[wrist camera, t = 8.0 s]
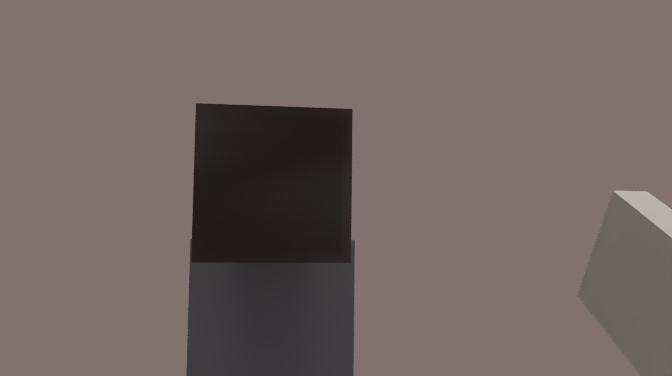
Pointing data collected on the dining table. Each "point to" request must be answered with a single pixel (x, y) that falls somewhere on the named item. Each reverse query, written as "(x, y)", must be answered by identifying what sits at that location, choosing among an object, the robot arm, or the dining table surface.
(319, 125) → the wooden bar
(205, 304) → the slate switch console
